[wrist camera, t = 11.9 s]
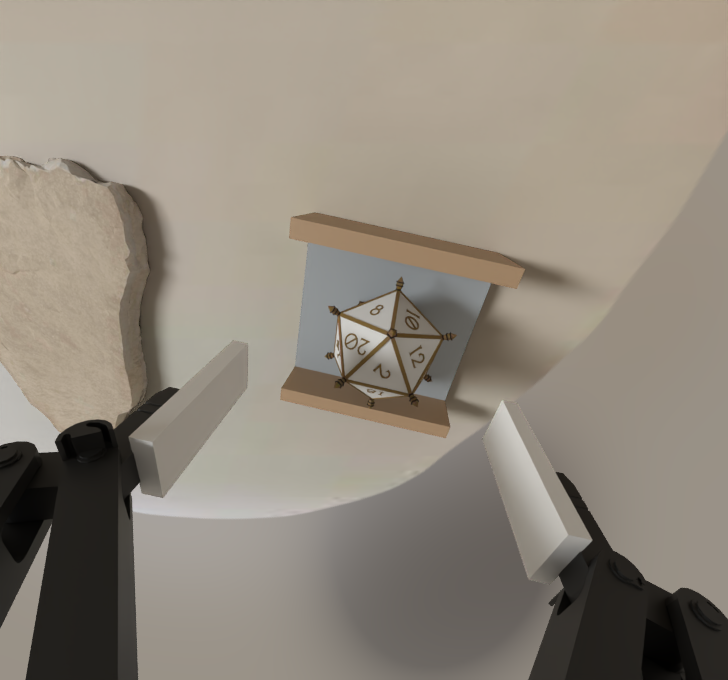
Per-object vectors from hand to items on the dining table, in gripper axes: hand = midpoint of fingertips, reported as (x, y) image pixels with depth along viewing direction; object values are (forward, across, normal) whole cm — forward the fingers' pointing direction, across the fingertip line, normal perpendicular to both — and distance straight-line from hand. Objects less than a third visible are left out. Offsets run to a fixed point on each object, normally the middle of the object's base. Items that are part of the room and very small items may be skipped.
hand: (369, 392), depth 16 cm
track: (+11, 0, -1) cm, 11 cm away
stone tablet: (+12, -30, -8) cm, 33 cm away
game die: (+10, +1, -1) cm, 10 cm away
